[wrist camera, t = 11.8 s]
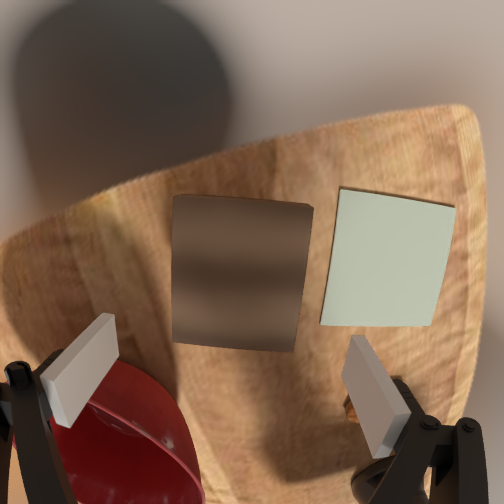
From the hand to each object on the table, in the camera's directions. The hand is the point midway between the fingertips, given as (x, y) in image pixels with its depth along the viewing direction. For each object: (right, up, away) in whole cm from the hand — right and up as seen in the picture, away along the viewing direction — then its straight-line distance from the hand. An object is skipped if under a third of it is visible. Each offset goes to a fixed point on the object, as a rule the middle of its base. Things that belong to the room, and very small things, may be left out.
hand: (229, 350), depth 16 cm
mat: (+18, +4, +18) cm, 26 cm away
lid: (0, +4, +12) cm, 13 cm away
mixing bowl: (-18, -17, +24) cm, 34 cm away
